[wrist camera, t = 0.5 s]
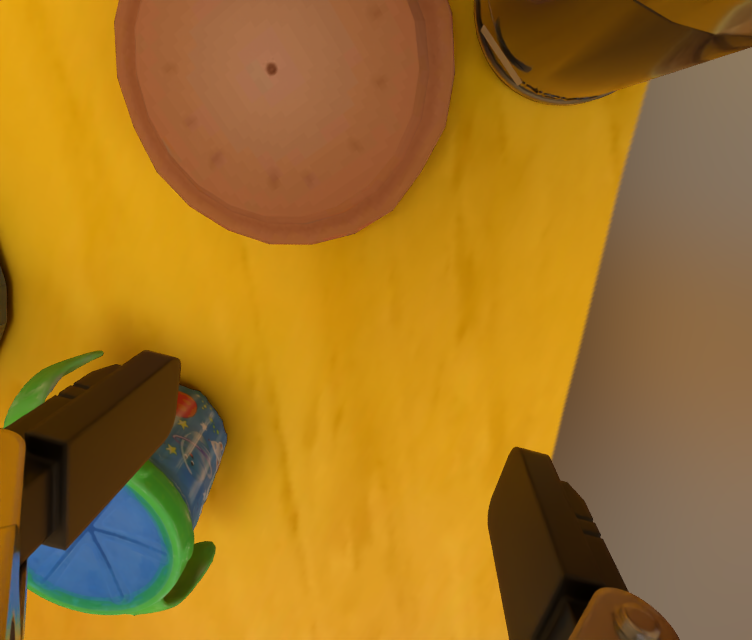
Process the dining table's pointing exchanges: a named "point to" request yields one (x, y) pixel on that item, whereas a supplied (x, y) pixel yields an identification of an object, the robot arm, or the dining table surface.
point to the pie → (287, 106)
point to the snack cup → (135, 517)
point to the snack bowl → (3, 303)
